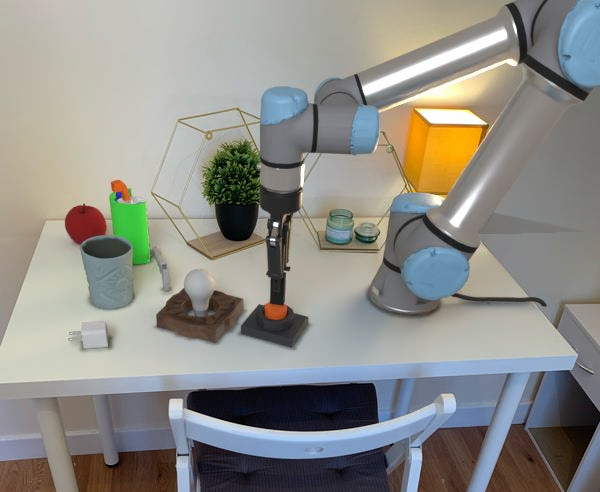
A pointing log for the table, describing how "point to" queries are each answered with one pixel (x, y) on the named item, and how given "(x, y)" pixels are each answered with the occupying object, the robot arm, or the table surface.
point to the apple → (84, 223)
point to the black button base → (275, 327)
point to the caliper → (162, 268)
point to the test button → (275, 311)
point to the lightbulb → (199, 290)
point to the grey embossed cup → (108, 270)
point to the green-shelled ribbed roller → (130, 220)
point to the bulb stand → (200, 327)
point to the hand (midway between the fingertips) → (277, 302)
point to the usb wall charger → (92, 335)
